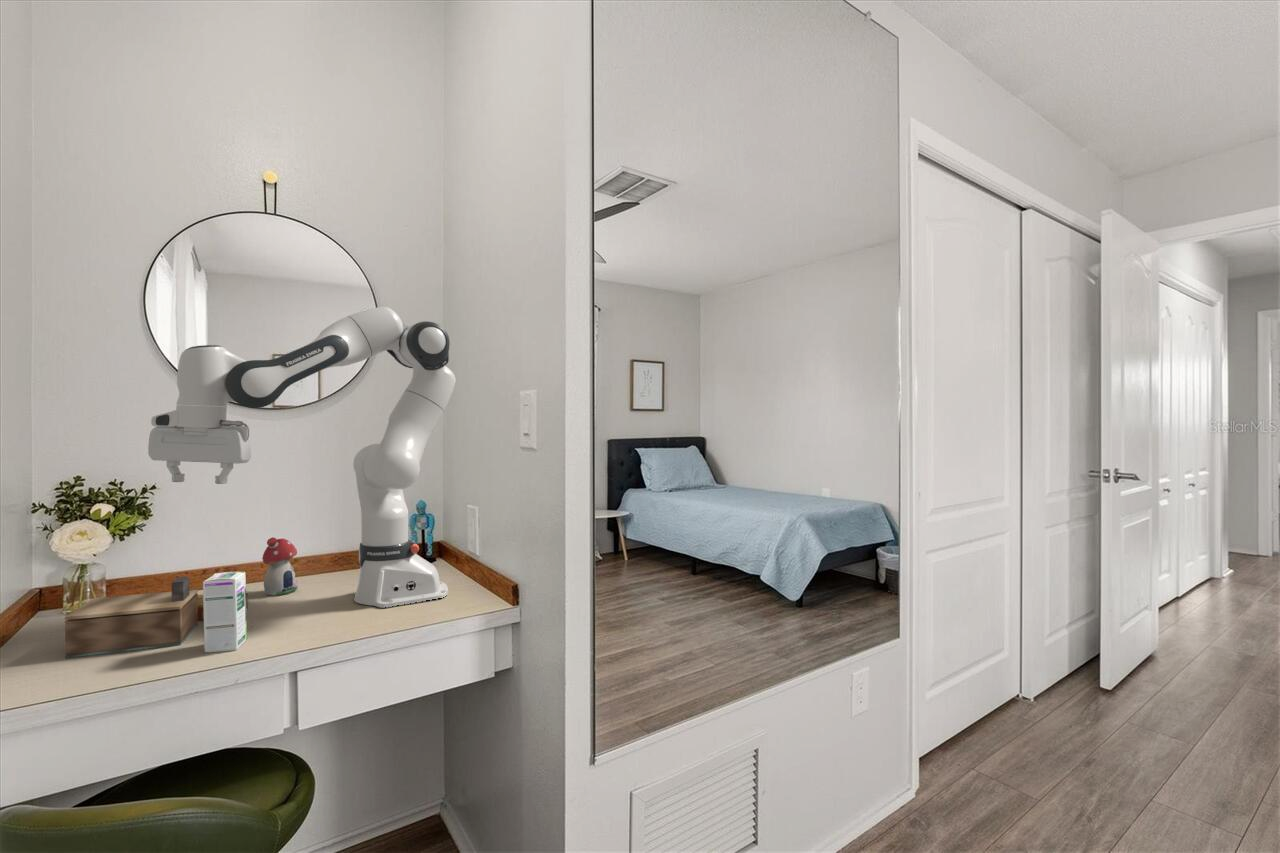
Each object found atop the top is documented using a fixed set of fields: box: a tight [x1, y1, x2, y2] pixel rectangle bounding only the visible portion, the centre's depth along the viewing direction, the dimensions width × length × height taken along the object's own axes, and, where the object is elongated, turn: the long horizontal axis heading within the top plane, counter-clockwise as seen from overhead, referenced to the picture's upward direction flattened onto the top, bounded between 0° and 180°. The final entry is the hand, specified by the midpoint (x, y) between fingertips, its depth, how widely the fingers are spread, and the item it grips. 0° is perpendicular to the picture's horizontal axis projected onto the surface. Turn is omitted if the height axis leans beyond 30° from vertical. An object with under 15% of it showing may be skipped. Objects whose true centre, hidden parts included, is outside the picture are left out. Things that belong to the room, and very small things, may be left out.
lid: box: [64, 576, 199, 621], centre depth 123 cm, size 18×12×5 cm, turn 113°
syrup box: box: [202, 571, 248, 653], centre depth 120 cm, size 6×6×14 cm
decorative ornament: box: [262, 537, 299, 597], centre depth 155 cm, size 9×7×15 cm
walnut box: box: [64, 592, 199, 659], centre depth 123 cm, size 18×12×7 cm, turn 113°
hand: (199, 482), depth 130 cm, fingers open, 8 cm apart
